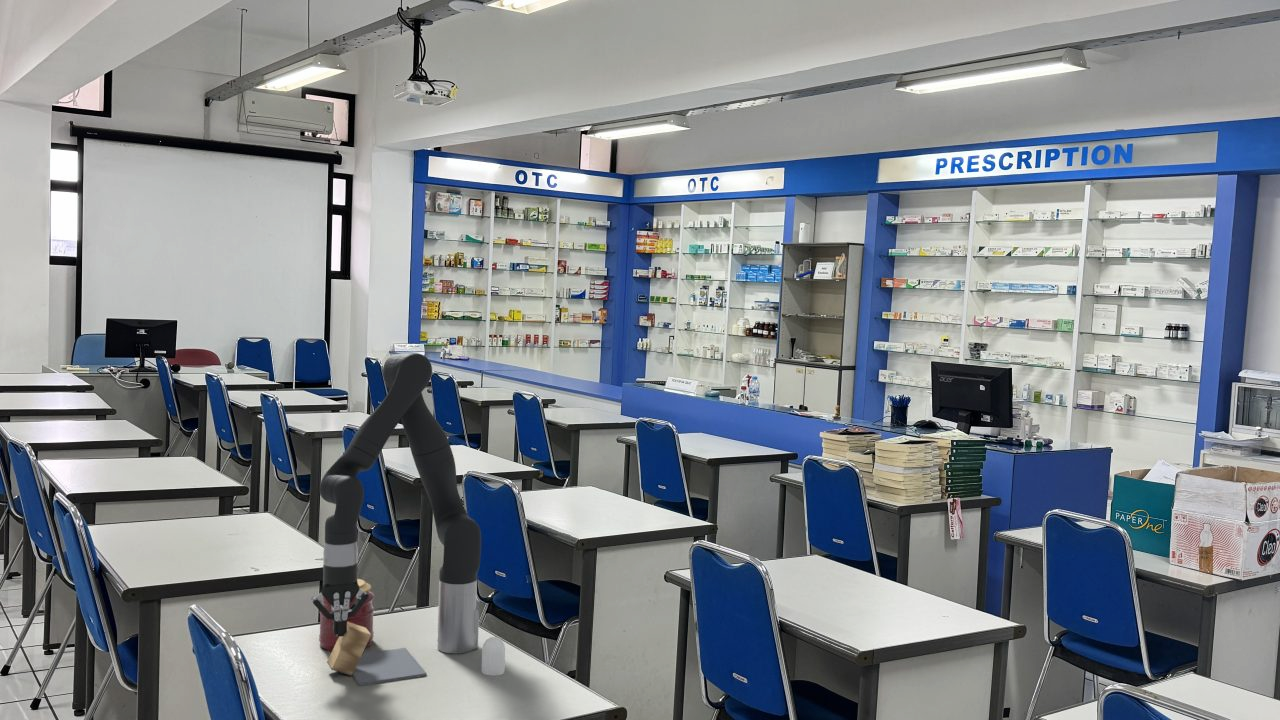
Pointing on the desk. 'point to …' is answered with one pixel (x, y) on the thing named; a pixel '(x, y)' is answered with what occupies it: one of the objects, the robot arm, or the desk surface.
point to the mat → (386, 667)
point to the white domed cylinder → (493, 656)
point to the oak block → (349, 649)
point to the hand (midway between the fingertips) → (339, 635)
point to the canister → (361, 618)
